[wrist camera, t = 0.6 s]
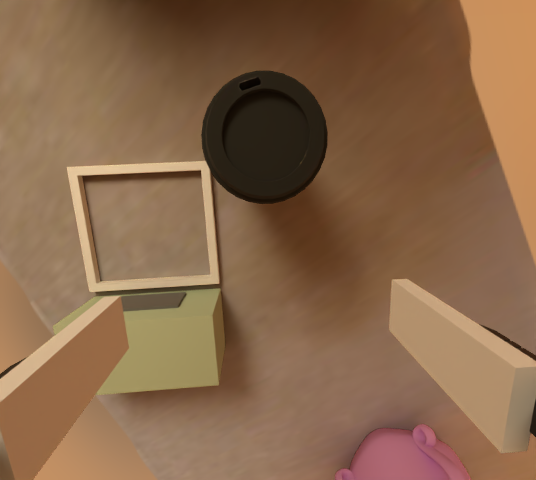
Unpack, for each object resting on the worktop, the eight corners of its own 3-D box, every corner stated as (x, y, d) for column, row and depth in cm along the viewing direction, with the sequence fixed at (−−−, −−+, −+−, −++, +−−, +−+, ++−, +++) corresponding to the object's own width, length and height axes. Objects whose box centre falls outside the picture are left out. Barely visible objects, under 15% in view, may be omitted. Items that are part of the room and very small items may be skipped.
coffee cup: (235, 207, 36) (224, 222, 21) (208, 129, 34) (175, 86, 19) (309, 183, 36) (348, 181, 21) (286, 104, 34) (312, 40, 19)
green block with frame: (72, 167, 34) (17, 162, 26) (209, 161, 34) (197, 154, 27) (105, 354, 39) (68, 397, 31) (225, 345, 39) (218, 385, 31)
